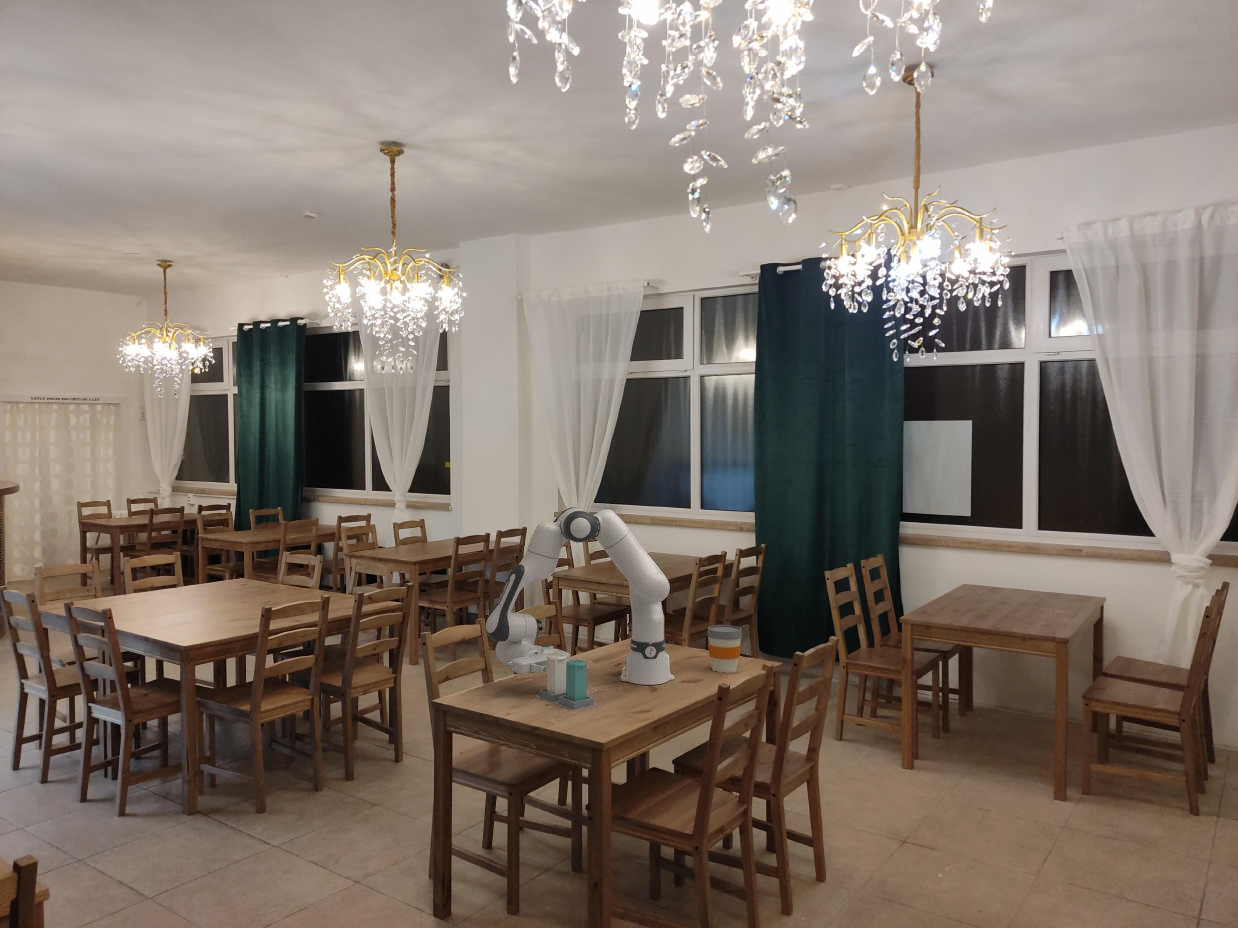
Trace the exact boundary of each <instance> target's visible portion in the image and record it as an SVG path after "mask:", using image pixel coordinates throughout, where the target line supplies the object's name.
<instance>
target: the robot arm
mask: <svg viewBox="0 0 1238 928" xmlns="http://www.w3.org/2000/svg"><path fill="white" fill-rule="evenodd" d="M592 539H596V540H597V542H598V543H599V544H600V546H601V547H602V549H603V550H604V552H605V553H606V554H607V555H608V557H609V558H610V559H611V561H612V563H613V564H614V565H615V566H616V568H617V569H618V570H619V571H620V572H621V574H622V575H623V576H624V578H625V579H626V580H627V581H628V589H629V590H628V591H629V601H630V608H631V622H632V623H631V638H630V646H629V648H630V650H629V652H628V655H627V656H626V657H623V665H625V666H624V667H622V671H621V675H620V681H621V682H628V683H632V684H636V685H645V686H647V685H649V686H650V685H661V684H665V683H667V682H669V681H672V680H673V681H674V680H675V675H674V674H672V673H671V668H670V655H669V654H668V653H667V652H666V651H665V650H666V639H665V615H664V610H663V605H662V601H664V600H665V599H666V598H667V597H668V596H669V593H670V588H671V586H670V582H669V580H668V578H667V576H666V575H665V574H664V572H663V571H662V569H660V567H659V566H658V565H657V564H656V562H655V561H654V560H653V558H652V557H651V556H650V555H649V554H648V552H647V551H646V550H645V549H644V548H643V546H642V545H641V544H640V542H639V541H638V539H637V538H636V537H635V535H634V534H633V533H632V531H631V529H630V528H629V526H627V525H626V523H625V522H624V521H623V520H622V518H621V517H620V516H619V515H618V514H617V513H616V512H615V511H614V510H612V509H609V508H608V509H607V508H606V509H603V510H600V511H598V512H597V513H595V514H592V513H590V512H588V511H587V510H584V509H583V508H579V507H574V506H573V507H569V508H566V509H565V510H563V511H562V512H561V513H560V514H559V515H558V516H557V517H556V518H555V519H554V520H553V521H549V520H548V521H546V520H545V521H541V522H540V523H538V524H537V526H536V527H535V528H534V531H533V532H532V535H531V537H530V540H529V542H528V546H527V549H526V552H525V554H524V556H523V557H522V559H521V561H520V562H519V563H518V564H517V565H515V566H514V567H513V568H512V569H511V571H510V572H509V574H508V576H507V579H506V581H505V583H504V585H503V588H502V590H501V592H500V594H499V596H498V599H497V601H496V603H495V605H494V607H493V608H492V610H491V611H490V613H489V615H488V616H487V619H486V620H485V624H484V627H485V631H486V634H487V635H488V637H489V639H491V641H492V642H497V643H496V646H495V654H496V657H497V659H498V660H499V661H500V662H501V663H503V664H505V665H506V666H507V667H509V668H511V670H512V671H513V672H515V673H517V674H520V675H526V674H535V673H545V672H546V673H547V655H550V654H557V653H559V654H564V655H566V656H567V661H570V660H571V654H570V653H569V652H568V651H565V650H562V649H558V648H554V646H553V645H536V643H537V640H538V636H539V631H540V627H539V622H538V621H537V619H536V617H535V616H534V615H533V614H529V613H521V612H512V609H513V607H514V605H515V603H516V600H517V598H518V596H519V594H520V592H521V590H522V589H524V588H525V587H527V586H529V585H530V584H533V583H537V582H540V581H543V580H546V579H548V578H550V576H552V575H553V573H554V572H555V570H556V568H557V565H558V561H559V557H560V554H561V550H562V548H563V546H565V545H564V544H565V543H566V542H569V541H571V542H574V543H584V542H587V541H590V540H592Z"/></svg>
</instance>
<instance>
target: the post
mask: <svg viewBox="0 0 1238 928" xmlns="http://www.w3.org/2000/svg"><path fill="white" fill-rule="evenodd" d="M566 662H567V656H566V655H564V654H559V653H557V654H550V655H547V670H546V688H547V692H549V693H552V694H554V695H555V694H559V693H563V692H566Z"/></svg>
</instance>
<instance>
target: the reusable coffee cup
mask: <svg viewBox="0 0 1238 928" xmlns="http://www.w3.org/2000/svg"><path fill="white" fill-rule="evenodd" d="M742 632H743V630H742V628H741V627H740V626H736V625H731V624H715V625H710V626H708V628H707V640H708V643H707V647H708V648H707V649H708V656H709V657H710V662H711V663H710V664H711V669H712V671H713V672H716V671H717V672H716V673H722V672H725V673H726V674H727V673H728V674H729V673H735V672H737V670H738V662H739V658H740V655H741V649H742V643H741V642H742V641H741V639H742V638H743V633H742ZM725 673H724V674H725Z"/></svg>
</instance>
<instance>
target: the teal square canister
mask: <svg viewBox="0 0 1238 928" xmlns="http://www.w3.org/2000/svg"><path fill="white" fill-rule="evenodd" d="M587 666H588V662H587V661H585V660H583V659H578V658H577V659H570V661H567V662H566V699H568V700H571V701H574V702H576V701H580V700H584V699H587V696H588V695H587V694H588V693H587V692H588V691H587V688H588V687H587V684H588V683H587V680H588V675H587V674H588V669H587V668H588V667H587Z"/></svg>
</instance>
